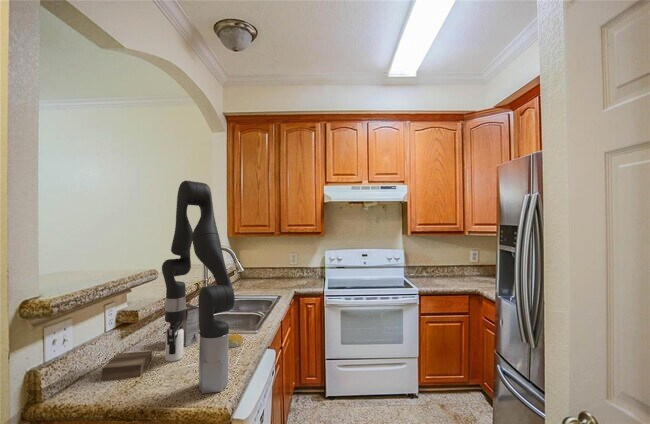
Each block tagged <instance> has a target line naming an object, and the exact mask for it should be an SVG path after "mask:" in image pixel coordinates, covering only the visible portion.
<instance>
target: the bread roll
mask: <svg viewBox="0 0 650 424" xmlns="http://www.w3.org/2000/svg"><path fill="white" fill-rule="evenodd" d="M243 341H244V339H243V337H242V335H241V334H238V333H233V334H229V345H228V348H237V347H240V346H241V345H242V343H243Z"/></svg>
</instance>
